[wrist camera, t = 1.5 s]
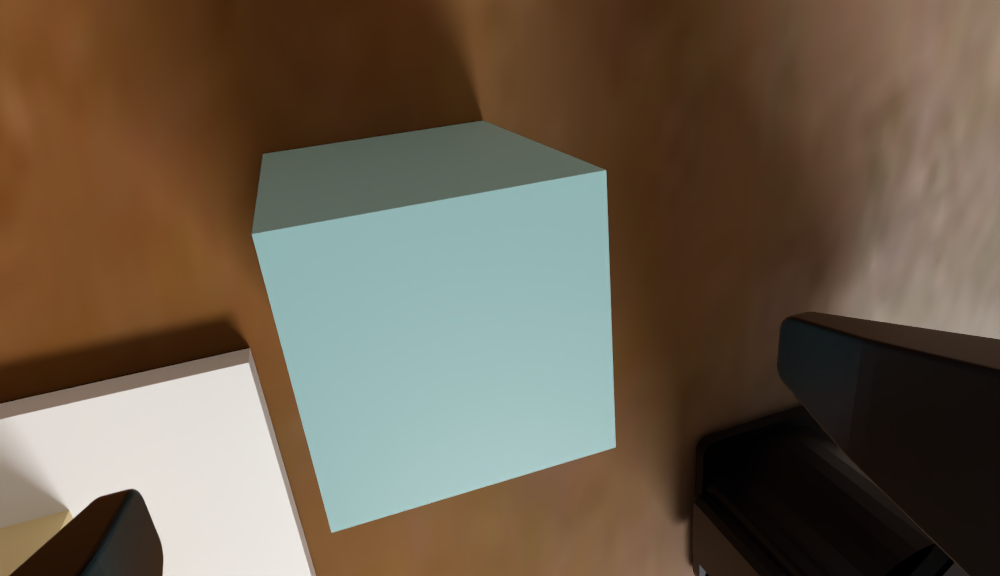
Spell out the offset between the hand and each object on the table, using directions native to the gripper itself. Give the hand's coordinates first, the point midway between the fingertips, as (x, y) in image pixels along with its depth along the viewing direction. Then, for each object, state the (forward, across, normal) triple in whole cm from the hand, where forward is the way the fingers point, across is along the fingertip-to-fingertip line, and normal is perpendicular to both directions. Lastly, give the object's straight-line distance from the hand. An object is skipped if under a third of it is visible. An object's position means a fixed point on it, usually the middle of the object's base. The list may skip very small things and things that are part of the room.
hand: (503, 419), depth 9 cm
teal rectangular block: (+8, 0, 0) cm, 8 cm away
